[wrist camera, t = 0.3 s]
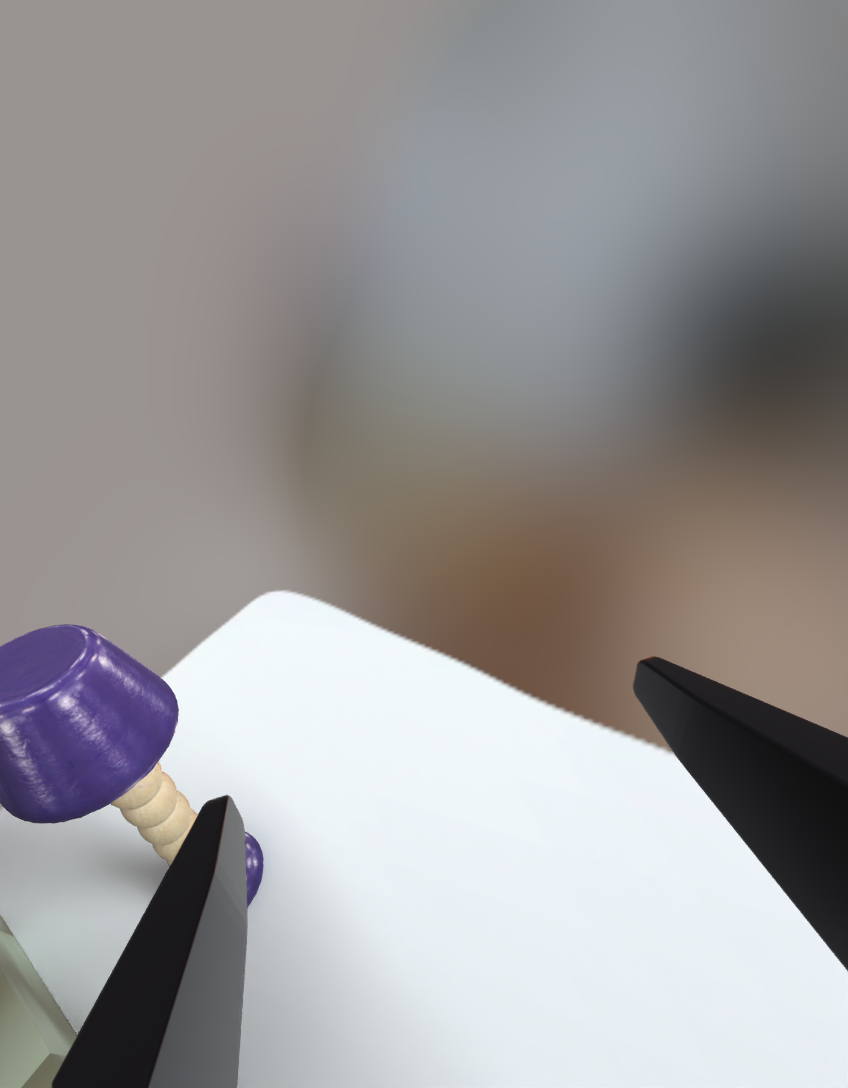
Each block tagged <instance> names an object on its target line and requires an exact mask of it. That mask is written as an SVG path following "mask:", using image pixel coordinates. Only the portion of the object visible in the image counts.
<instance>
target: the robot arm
mask: <svg viewBox="0 0 848 1088" xmlns="http://www.w3.org/2000/svg"><path fill="white" fill-rule="evenodd" d="M633 690H634V693H635V695H636V697H637V699H638V700H639V702H640V703H641V705H642V706H643V708H644V709H645V711H646V712H647V714H648V715H649V717H650V718H651V720H652V721H653V723H654V724H655V726H656V727H657V729H658V730H659V732H660V733H661V734H662V736H663V738H664V739H665V741H666V742H667V744H668V745H669V747H670V748H671V750H672V751H673V752H674V754H675V755H676V757H677V758H678V759H679V761H680V762H681V763H682V764H683V766H684V767H685V768H686V770H687V771H688V772H689V773H690V775H691V776H692V777H693V778H694V780H695V781H696V782H697V783H698V785H699V786H700V787H701V788H702V790H703V791H704V792H705V793H706V795H707V796H708V797H709V798H710V800H711V801H712V802H713V803H714V805H715V806H716V807H717V808H718V810H719V811H720V812H721V813H722V815H723V816H724V817H725V818H726V820H727V821H728V822H729V823H730V825H731V826H732V827H733V828H734V830H735V831H736V832H737V833H738V835H739V836H740V837H741V838H742V840H743V841H744V842H745V843H746V845H747V846H748V847H749V848H750V850H751V851H752V852H753V853H754V855H755V856H756V857H757V858H758V860H759V861H760V862H761V863H762V865H763V866H764V867H765V868H766V870H767V871H768V872H769V873H770V875H771V876H772V877H773V878H774V880H775V881H776V882H777V883H778V885H779V886H780V887H781V888H782V889H783V891H784V892H785V893H786V894H787V896H788V897H789V898H790V899H791V901H792V902H793V903H794V904H795V906H796V907H797V908H798V909H799V911H800V912H801V913H802V914H803V916H804V917H805V918H806V919H807V921H808V922H809V923H810V924H811V926H812V927H813V928H814V929H815V931H816V932H817V933H818V934H819V936H820V937H821V938H822V939H823V941H824V942H825V943H826V944H827V946H828V947H829V948H830V949H831V951H832V952H833V953H834V954H835V956H836V957H837V958H838V959H839V961H840V962H841V963H842V964H843V966H844V967H845V968H846V969H847V971H848V738H847V737H845V736H843V735H840V734H838V733H836V732H833V731H831V730H829V729H826V728H824V727H822V726H819V725H817V724H814V723H812V722H810V721H808V720H805V719H803V718H800V717H798V716H796V715H794V714H791V713H789V712H786V711H784V710H782V709H779V708H777V707H775V706H772V705H770V704H768V703H765V702H763V701H761V700H758V699H756V698H753V697H751V696H749V695H746V694H744V693H742V692H739V691H737V690H735V689H732V688H730V687H727V686H725V685H723V684H720V683H718V682H716V681H713V680H711V679H709V678H706V677H704V676H702V675H699V674H697V673H695V672H692V671H690V670H687V669H685V668H683V667H680V666H678V665H676V664H673V663H671V662H669V661H666V660H664V659H662V658H659V657H649V658H646V659H643V660H640V661H639V662H638V664H637V667H636V672H635V677H634V682H633ZM246 945H247V889H246V860H245V831H244V824H243V820H242V817H241V815H240V813H239V811H238V809H237V808H236V806H235V804H234V802H233V800H232V798H231V797H230V796H229V795H225V796H222V797H218V798H215V799H212V800H209V801H208V802H206V803H205V804H204V805H203V807H202V809H201V810H200V812H199V814H198V816H197V818H196V819H195V821H194V823H193V825H192V827H191V829H190V830H189V832H188V834H187V836H186V838H185V840H184V841H183V843H182V845H181V847H180V849H179V851H178V852H177V854H176V856H175V858H174V860H173V862H172V863H171V865H170V867H169V869H168V871H167V872H166V874H165V876H164V878H163V880H162V882H161V883H160V885H159V887H158V889H157V891H156V893H155V894H154V896H153V898H152V900H151V902H150V904H149V905H148V907H147V909H146V911H145V913H144V914H143V916H142V918H141V920H140V922H139V924H138V925H137V927H136V929H135V931H134V933H133V935H132V936H131V938H130V940H129V942H128V944H127V946H126V947H125V949H124V951H123V953H122V955H121V957H120V958H119V960H118V962H117V964H116V966H115V967H114V969H113V971H112V973H111V975H110V977H109V978H108V980H107V982H106V984H105V986H104V988H103V989H102V991H101V993H100V995H99V997H98V999H97V1000H96V1002H95V1004H94V1006H93V1008H92V1010H91V1011H90V1013H89V1015H88V1017H87V1019H86V1020H85V1022H84V1024H83V1026H82V1028H81V1030H80V1031H79V1033H78V1035H77V1037H76V1039H75V1041H74V1042H73V1044H72V1046H71V1048H70V1050H69V1052H68V1053H67V1055H66V1057H65V1059H64V1061H63V1062H62V1064H61V1066H60V1068H59V1070H58V1072H57V1073H56V1075H55V1077H54V1079H53V1081H52V1083H51V1088H237V1079H238V1064H239V1049H240V1034H241V1019H242V1004H243V989H244V974H245V960H246Z"/></svg>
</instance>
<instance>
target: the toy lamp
mask: <svg viewBox="0 0 848 1088" xmlns="http://www.w3.org/2000/svg"><path fill="white" fill-rule="evenodd" d="M178 711H179V709H178V704H177V700H176V697H175V694H174V693H173V691H172V690H171V688H170V687H169V685H168V684H167V683H166V682H165V681H164V680H162V679H161V678H160V677H159V676H157V675H156V674H155V673H153V672H152V671H151V670H149V669H148V668H147V667H145V666H144V665H142V664H141V663H140V662H138V661H137V660H136V659H134V658H133V657H131V656H130V655H129V654H127V653H126V652H124V651H123V650H121V649H120V648H119V647H117V646H116V645H115V644H113V643H112V642H110V641H109V640H108V639H106V638H105V637H103V636H102V635H100V634H99V633H97V632H95V631H94V630H91V629H89V628H86V627H83V626H78V625H55V626H50V627H46V628H42V629H38V630H35V631H32V632H28V633H26V634H24V635H21V636H19V637H17V638H15V639H13V640H11V641H9V642H8V643H6V644H4V645H3V646H1V647H0V803H1V804H2V806H3V807H4V808H5V809H6V810H7V811H8V812H10V813H11V814H12V815H13V816H15V817H17V818H19V819H21V820H24V821H29V822H32V823H58V822H65V821H68V820H72V819H76V818H81V817H83V816H85V815H87V814H89V813H91V812H94V811H96V810H99V809H101V808H103V807H105V806H107V805H109V804H111V805H113V806H115V807H118V808H120V811H121V813H122V815H123V816H124V818H125V819H126V820H127V821H128V822H129V823H131V824H132V825H134V826H137V828H138V831H139V833H140V835H141V836H142V837H143V838H144V839H145V840H146V841H148V842H149V843H152V845H153V848H154V850H155V851H156V853H157V854H158V855H159V856H160V857H162V858H163V859H165V860H167V862H168V864H169V866H170V865H171V863H172V862H173V860H174V858H175V856H176V854H177V852H178V851H179V849H180V847H181V845H182V843H183V841H184V840H185V838H186V836H187V834H188V832H189V830H190V829H191V827H192V825H193V823H194V821H195V819H196V818H197V816H198V814H197V813H196V812H195V811H194V810H192V809H191V808H190V805H189V802H188V800H187V799H186V797H185V796H184V795H183V794H182V793H181V792H179V791H178V790H176V786H175V784H174V782H173V780H172V779H171V778H170V777H169V776H168V775H167V774H166V773H165V772H163V771H162V770H161V766H160V764H159V762H158V761H159V759H160V758H161V757H162V755H163V754H164V752H165V751H166V749H167V748H168V747H169V744H170V742H171V740H172V738H173V735H174V733H175V728H176V725H177V723H178ZM245 860H246V889H247V908H248V906H249V904H250V903H251V901H252V899H253V898H254V896H255V895H256V893H257V890H258V887H259V885H260V882H261V879H262V873H263V854H262V850H261V848H260V845H259V843H258V842H257V841H256V839H255V838H254V837H253V836H251V835H250V834H249V833H247V832H245Z"/></svg>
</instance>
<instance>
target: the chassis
mask: <svg viewBox="0 0 848 1088" xmlns="http://www.w3.org/2000/svg"><path fill="white" fill-rule="evenodd" d="M76 1037H77V1034H76V1033H75V1031H74V1030H73V1028H72V1027H71V1025H70V1023H69V1022H68V1020H67V1019H66V1017H65V1016H64V1014H63V1012H62V1011H61V1009H60V1008H59V1006H58V1005H57V1003H56V1001H55V1000H54V998H53V997H52V995H51V994H50V992H49V990H48V989H47V987H46V986H45V984H44V983H43V981H42V979H41V978H40V976H39V975H38V973H37V972H36V970H35V969H34V967H33V965H32V964H31V962H30V961H29V959H28V958H27V956H26V954H25V953H24V951H23V950H22V948H21V947H20V945H19V943H18V942H17V940H16V939H15V937H14V936H13V934H12V932H11V931H10V929H9V928H8V926H7V925H6V923H5V921H4V920H3V918H2V917H1V915H0V1088H51V1083H52V1081H53V1079H54V1077H55V1075H56V1073H57V1072H58V1070H59V1068H60V1066H61V1064H62V1062H63V1061H64V1059H65V1057H66V1055H67V1053H68V1052H69V1050H70V1048H71V1046H72V1044H73V1042H74V1041H75V1039H76Z"/></svg>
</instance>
